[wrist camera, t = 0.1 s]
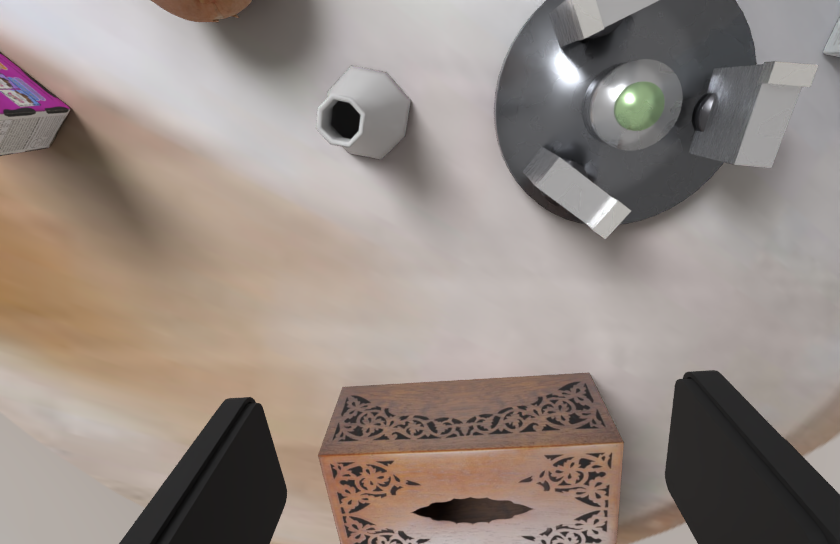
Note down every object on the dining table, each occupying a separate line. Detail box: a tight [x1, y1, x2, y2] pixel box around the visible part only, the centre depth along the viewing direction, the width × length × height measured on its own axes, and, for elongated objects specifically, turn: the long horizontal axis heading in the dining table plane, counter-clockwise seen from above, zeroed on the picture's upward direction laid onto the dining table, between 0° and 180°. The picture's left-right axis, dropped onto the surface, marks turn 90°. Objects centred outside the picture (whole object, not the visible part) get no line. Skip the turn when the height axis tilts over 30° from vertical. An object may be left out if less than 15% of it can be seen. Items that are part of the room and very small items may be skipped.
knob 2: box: [689, 61, 818, 168], centre depth 30 cm, size 4×6×7 cm, turn 175°
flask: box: [316, 65, 411, 159], centre depth 33 cm, size 7×7×10 cm
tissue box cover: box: [318, 373, 624, 544], centre depth 45 cm, size 26×14×10 cm, turn 96°
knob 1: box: [549, 0, 659, 47], centre depth 28 cm, size 4×6×7 cm, turn 116°
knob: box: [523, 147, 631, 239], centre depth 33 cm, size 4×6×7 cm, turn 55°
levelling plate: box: [494, 0, 756, 225], centre depth 33 cm, size 19×19×6 cm
